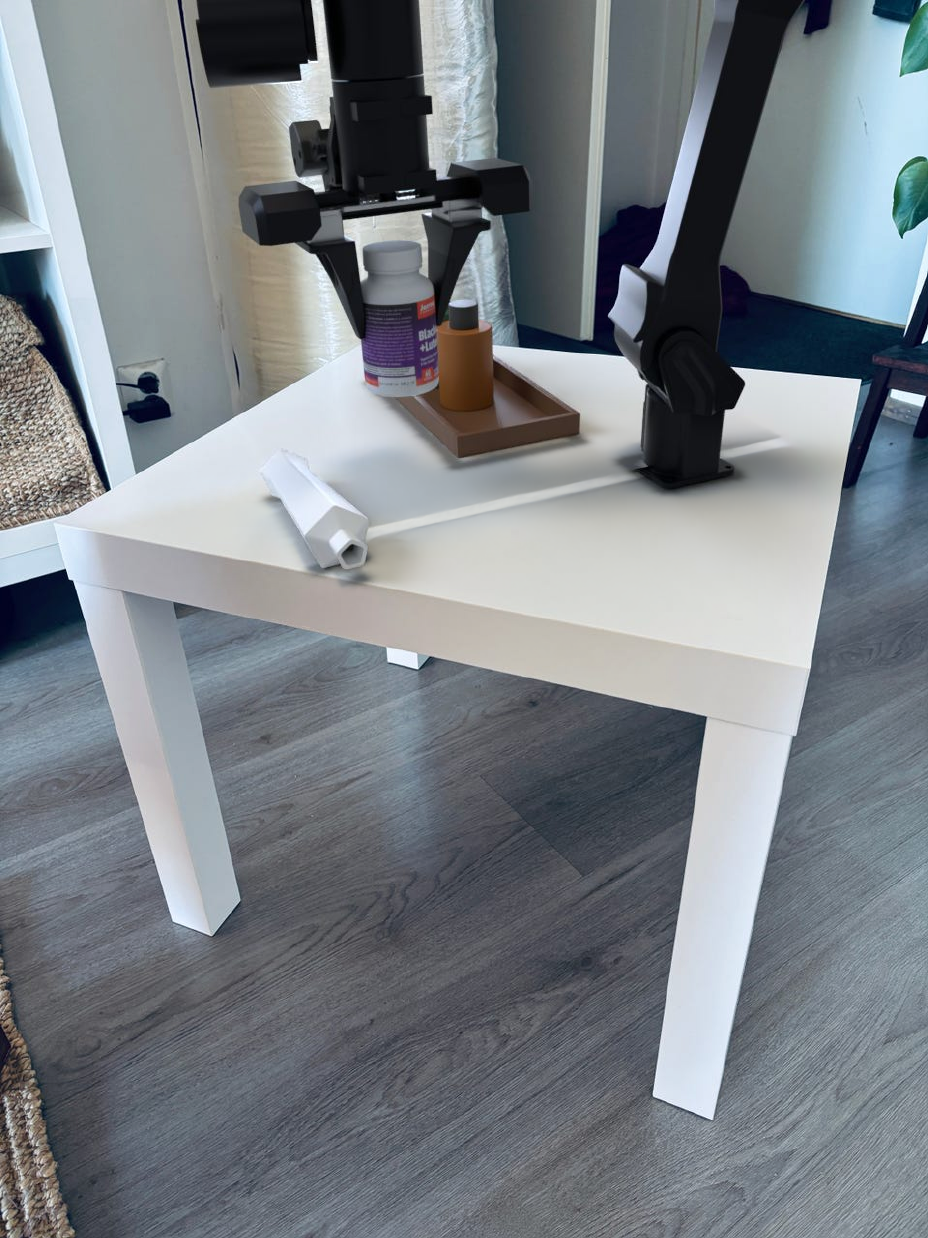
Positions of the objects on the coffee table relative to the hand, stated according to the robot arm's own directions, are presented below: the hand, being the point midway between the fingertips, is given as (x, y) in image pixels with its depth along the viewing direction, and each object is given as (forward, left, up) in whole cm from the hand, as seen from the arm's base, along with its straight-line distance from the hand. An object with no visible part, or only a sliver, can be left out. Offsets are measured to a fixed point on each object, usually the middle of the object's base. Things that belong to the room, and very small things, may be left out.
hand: (399, 331), depth 68 cm
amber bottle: (+15, -11, -12) cm, 22 cm away
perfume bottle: (+4, +9, -11) cm, 14 cm away
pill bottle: (0, 0, -4) cm, 4 cm away
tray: (+15, -11, -13) cm, 22 cm away
